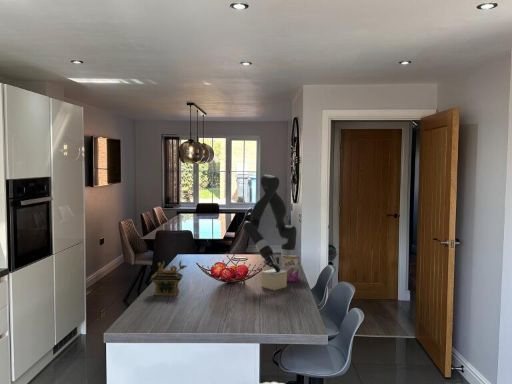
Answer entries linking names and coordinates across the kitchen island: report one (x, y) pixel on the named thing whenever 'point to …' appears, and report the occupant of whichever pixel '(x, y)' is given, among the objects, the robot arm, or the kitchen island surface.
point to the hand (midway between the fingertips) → (278, 271)
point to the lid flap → (274, 272)
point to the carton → (274, 281)
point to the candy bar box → (290, 266)
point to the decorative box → (167, 280)
